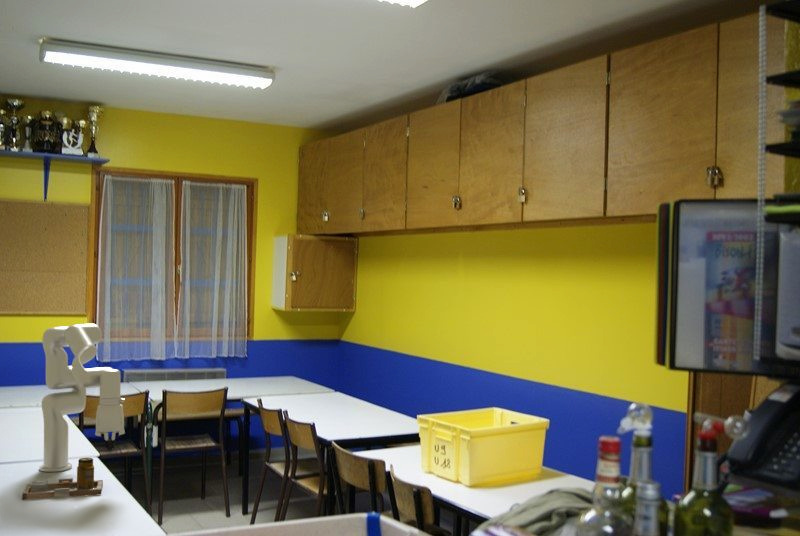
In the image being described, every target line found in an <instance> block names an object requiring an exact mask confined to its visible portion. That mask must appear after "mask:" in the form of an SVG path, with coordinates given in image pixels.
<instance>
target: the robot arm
mask: <svg viewBox="0 0 800 536" xmlns="http://www.w3.org/2000/svg"><path fill="white" fill-rule="evenodd" d="M102 338H103V334H102V330H101V328H100V326H99V325H97V324H95V323H84V324H83V323H78V324H72V325H67V326H66V325H65V326H63V325H62V326H53V327H50V328H47V329H46V330H45V331H43V333H42V338H41V339H42V341H41V342H42V347H43V351H44V354H45V384H46V387H47V388H48V389H50V390H54V391H55V390H56V391H57V390H67V389H71V390H70V391H62V392H52V393H48V394H46V395H45V396H44V397H43V398H42V399H41V400H42V401H41V411H42V416H43V464H41V465H39V471H41V472H44V473H45V472H46V473H48V472H49V473H53V472H54V473H55V472H56V473H57V472H62V471H67V470H71V469H72V467H73V465H72V463H71V462H69V424H68V422H67V421H66V419H65V418H64V416H66V415H74V414H80V413H82V412H84V410H85V409H86V404H87V389H95V388H99V405H97V408H96V416H95V434H94V435H95V436H97V437H101V438H102V439H104V440H105V449H107V451H108V452H109V451H110V452H112V451H113V449H115V439H116V438H118V437H119V436H121V435H124V434H126V432H125V413H124V406H123V404H121V403H125V398H123V397H121V377H122V376H121V371H120V370H119V369H115V368H113V367H109V366H103V367H102V366H101V367H91V368H85V366H83V365H85V364H87V363H88V362H90V361H92V360H93V359H94V358H95V357H96V355H97V352H98V349H97V346H96V345H98V344H99V343H100V342H101V341H102ZM64 348H69V349H70V351H71V353H72V354H73V356H74V357H73V359H72V362H71V365H68V364H69V362H68V360H69V356H68V353H67V352H66V350H65V349H64ZM109 433H111V437H109Z"/></svg>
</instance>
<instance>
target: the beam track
mask: <svg viewBox="0 0 800 536" xmlns="http://www.w3.org/2000/svg"><path fill="white" fill-rule="evenodd" d="M73 479H74V478H73V477H70V478H58V482H51V483H50V482H49V483H48V480H44V481H32V483H30V484H26V487H25V488H24V490H23V491H22V495H21V498H22V499H21V500H24V501H26V500H37V499H38V500H40V499H52V498H53V499H66V498H65V497H68V498H70V497H83V496H85V495H88V496H98V495H97V494H101V495H102V492H103V491H102V490H103V486H104V481H103V479H98V480H97V479H96V480H94V488H95V489H80V490H74V489H76V488H77V481H74V480H73ZM96 486H97V487H96ZM49 489H51V490H50V491H49ZM52 490H53V491H52ZM85 497H86V496H85Z"/></svg>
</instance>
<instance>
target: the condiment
mask: <svg viewBox="0 0 800 536" xmlns="http://www.w3.org/2000/svg"><path fill="white" fill-rule="evenodd" d="M77 464H78V466H76V482H77V488H73V490H80V489H93V488H95V487H94V481H95V466H94V458H92V457H82V458H79V459H78V463H77Z"/></svg>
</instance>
